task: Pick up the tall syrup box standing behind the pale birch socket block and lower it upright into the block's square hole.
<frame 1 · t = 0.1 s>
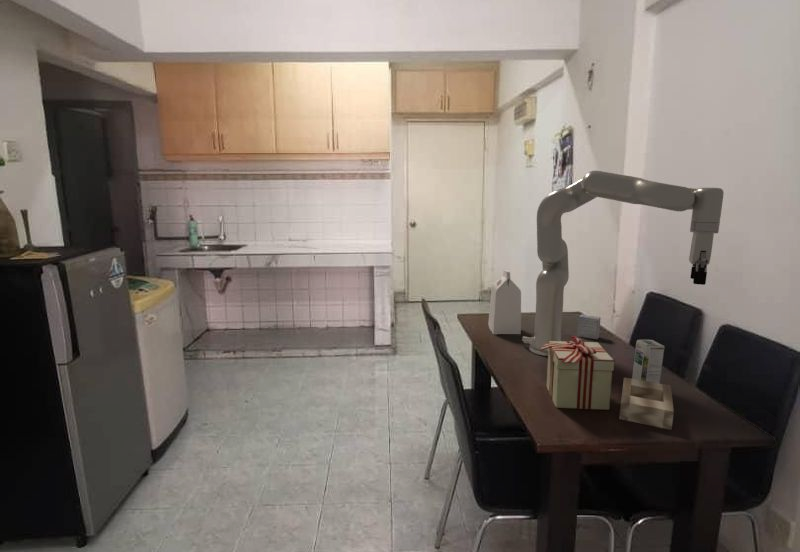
hand: (697, 281, 148), 31 cm above the table, tool pointing down, fingers open, 9 cm apart
milk: (503, 330, 199), on the table
gift box: (571, 399, 134), on the table
syrup box: (644, 387, 143), on the table
socket block: (644, 410, 128), on the table
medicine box: (587, 337, 191), on the table
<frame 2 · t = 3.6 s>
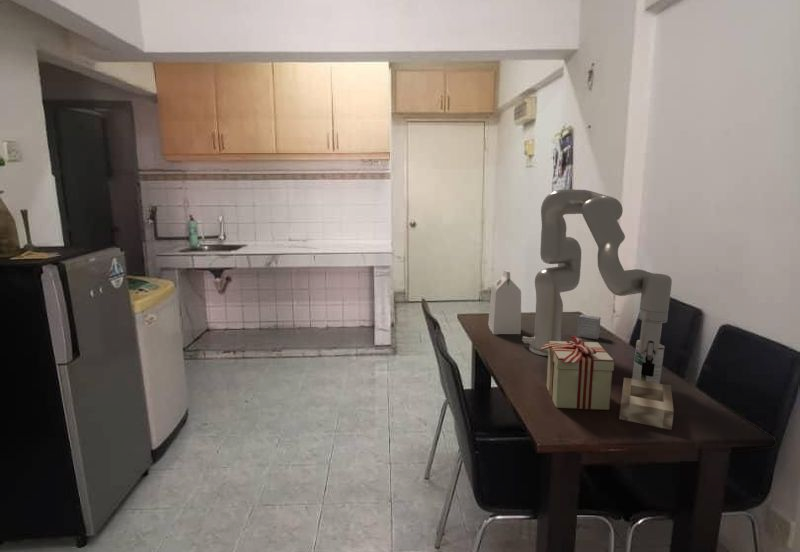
hand: (647, 370, 142), 6 cm above the table, tool pointing down, fingers closed on syrup box, 7 cm apart
syrup box: (645, 387, 143), on the table, touching gripper
everything else where it was.
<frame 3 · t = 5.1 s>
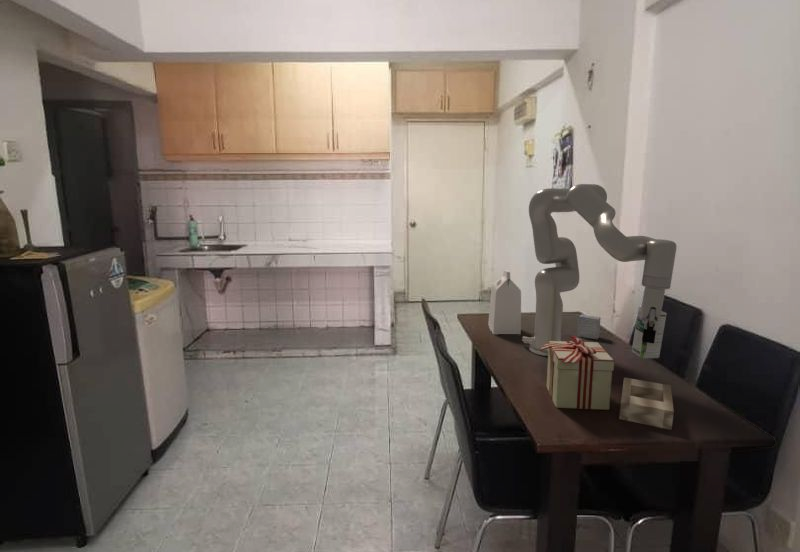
hand: (647, 337, 140), 16 cm above the table, tool pointing down, fingers closed on syrup box, 7 cm apart
syrup box: (645, 355, 142), point 10 cm above the table, touching gripper
everything else where it was.
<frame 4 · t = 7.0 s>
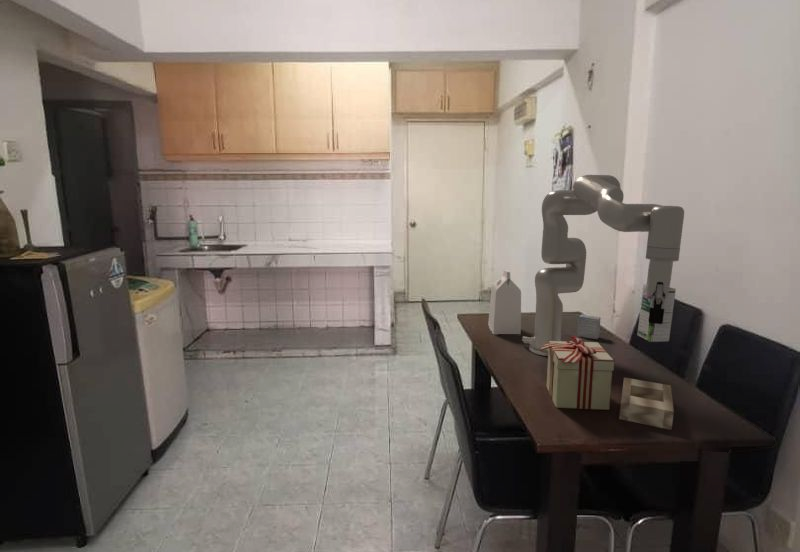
hand: (655, 318, 123), 26 cm above the table, tool pointing down, fingers closed on syrup box, 7 cm apart
syrup box: (652, 339, 125), point 20 cm above the table, touching gripper
everything else where it was.
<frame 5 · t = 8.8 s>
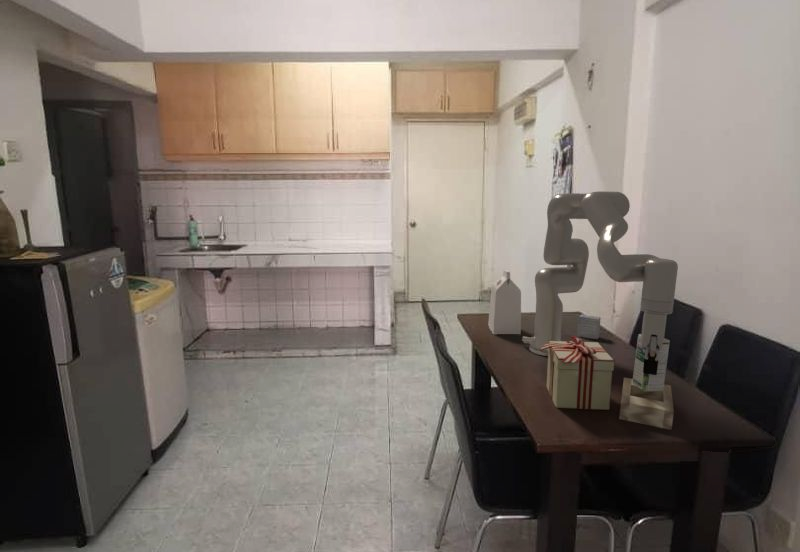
hand: (649, 368, 126), 12 cm above the table, tool pointing down, fingers closed on syrup box, 7 cm apart
syrup box: (647, 387, 127), point 7 cm above the table, touching gripper
everything else where it was.
when the fingers open (6 cm above the table, at t = 10.5 s): syrup box drops 1 cm, resting in socket block.
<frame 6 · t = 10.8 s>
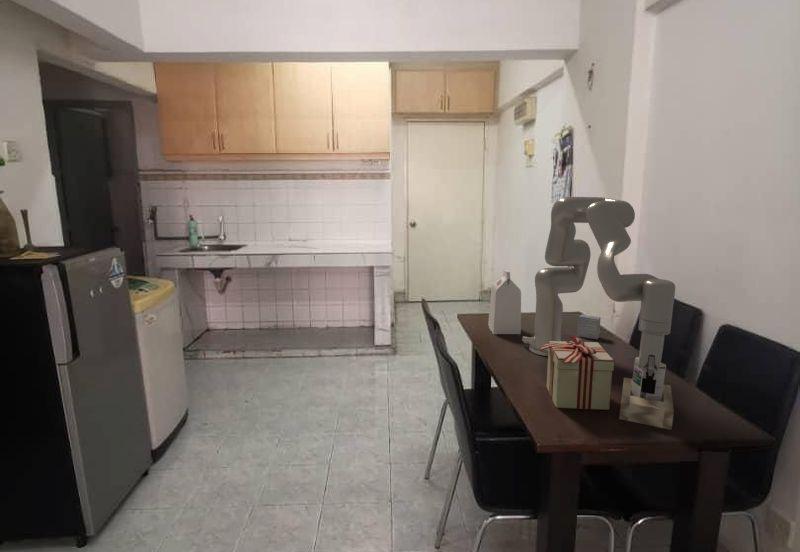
hand: (647, 385, 127), 7 cm above the table, tool pointing down, fingers open, 9 cm apart
syrup box: (644, 410, 128), resting in socket block
everything else where it was.
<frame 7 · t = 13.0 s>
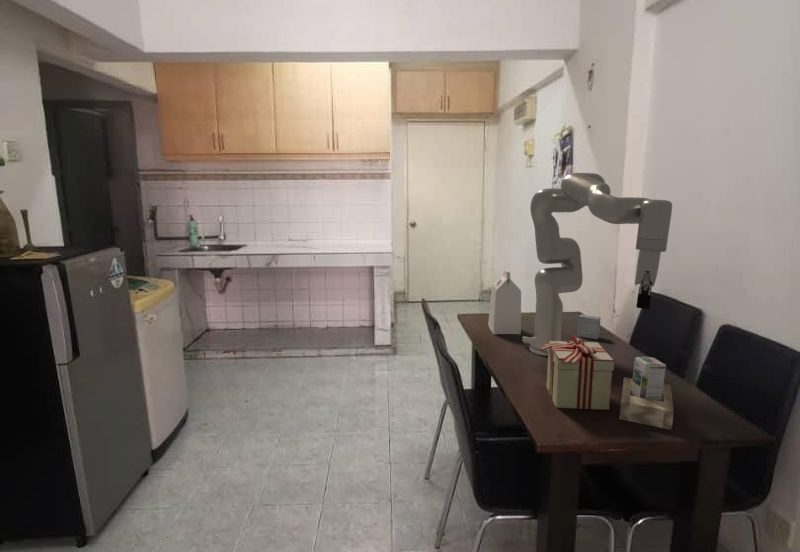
hand: (643, 304, 132), 28 cm above the table, tool pointing down, fingers open, 9 cm apart
nothing on the table moved.
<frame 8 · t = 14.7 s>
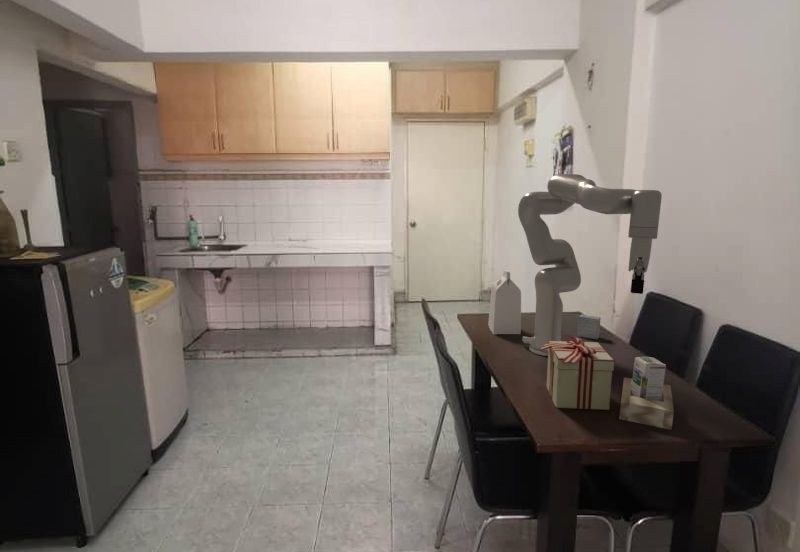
hand: (636, 290, 138), 30 cm above the table, tool pointing down, fingers open, 9 cm apart
nothing on the table moved.
at the end: syrup box 0.2 cm off-centre on the socket block, point 0.0 cm above the socket block's base; syrup box tilted 0°; the gripper is holding nothing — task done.
